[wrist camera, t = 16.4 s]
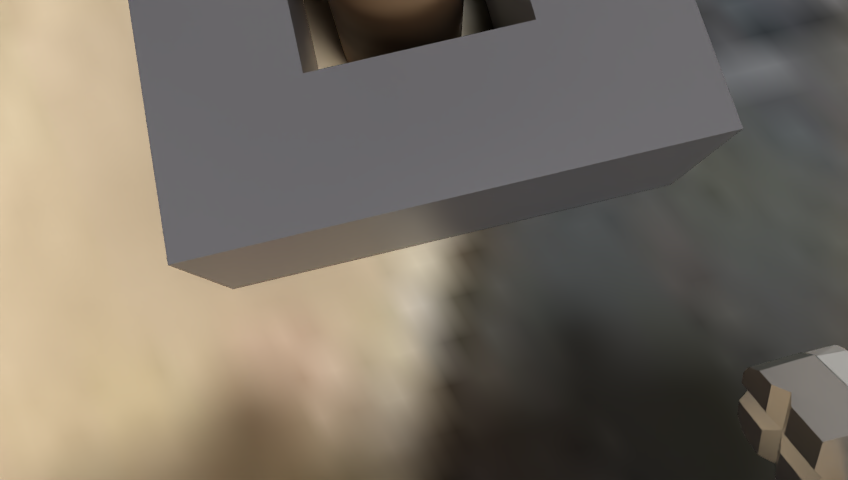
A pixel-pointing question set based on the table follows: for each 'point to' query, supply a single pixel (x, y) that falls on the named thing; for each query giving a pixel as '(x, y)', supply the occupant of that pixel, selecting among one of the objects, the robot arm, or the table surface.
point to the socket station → (411, 126)
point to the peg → (394, 24)
